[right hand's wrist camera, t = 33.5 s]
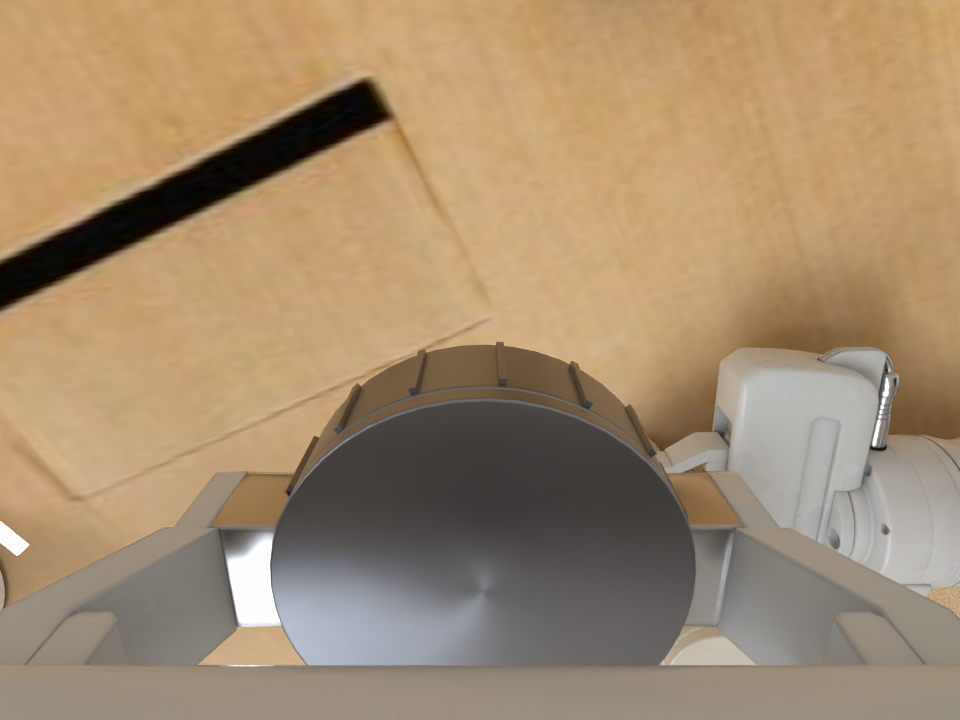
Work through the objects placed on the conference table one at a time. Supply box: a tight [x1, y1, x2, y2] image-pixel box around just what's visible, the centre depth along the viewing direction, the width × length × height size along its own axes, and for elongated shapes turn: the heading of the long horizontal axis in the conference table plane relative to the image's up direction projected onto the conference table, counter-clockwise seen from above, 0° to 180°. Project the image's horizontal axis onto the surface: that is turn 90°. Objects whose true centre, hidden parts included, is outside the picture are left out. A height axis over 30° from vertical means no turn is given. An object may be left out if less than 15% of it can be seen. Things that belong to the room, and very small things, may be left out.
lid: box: [270, 342, 696, 665], centre depth 9 cm, size 6×6×2 cm
